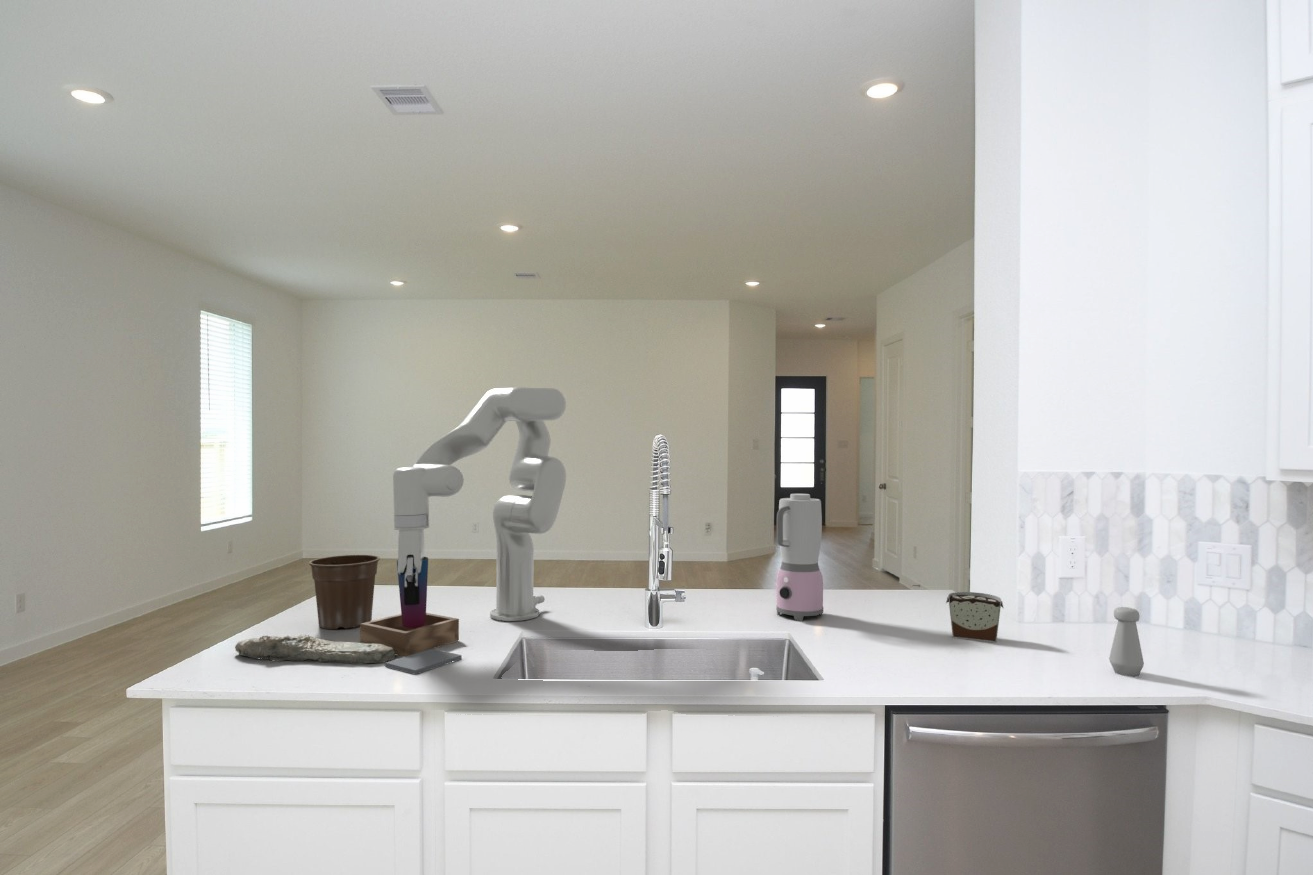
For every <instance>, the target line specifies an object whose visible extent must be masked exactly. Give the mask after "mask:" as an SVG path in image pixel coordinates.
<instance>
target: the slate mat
mask: <svg viewBox="0 0 1313 875" xmlns="http://www.w3.org/2000/svg"><path fill="white" fill-rule="evenodd" d="M456 660H457V661H459V660H462V654H458V653H453V652H450V651H446V650H445V651H444V650H440V649H437V648H433V649H429V650H425V651H422V652H419V653H416V654H412V655H409V656H406V657H403V656H401V657H400V658H396V659H392V660H391V661H388V662H384V664H385V665H384V666H385V667H386V668H390V669H393V670H398V671H401V672H404V673H408V674H413V675H417V674H421V673H423V672H426V671H430V670H433V669H436V668H439V667H442V666H444V665H448V664H450V662H451V663H453V662H452V661H454V662H457V661H456ZM447 663H448V664H447ZM441 665H442V666H441Z"/></svg>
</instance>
